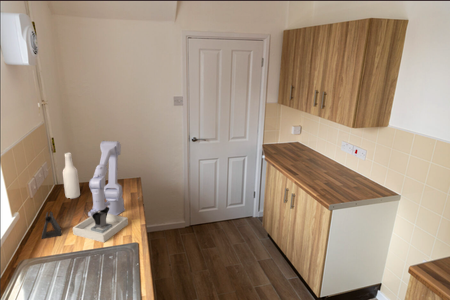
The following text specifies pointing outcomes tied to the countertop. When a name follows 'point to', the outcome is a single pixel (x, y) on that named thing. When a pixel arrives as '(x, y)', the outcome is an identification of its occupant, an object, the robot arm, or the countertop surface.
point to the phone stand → (55, 225)
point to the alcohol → (70, 178)
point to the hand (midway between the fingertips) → (100, 222)
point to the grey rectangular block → (102, 220)
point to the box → (100, 234)
